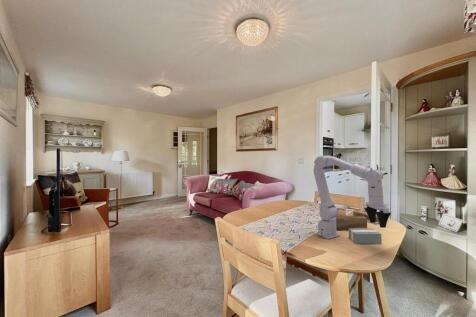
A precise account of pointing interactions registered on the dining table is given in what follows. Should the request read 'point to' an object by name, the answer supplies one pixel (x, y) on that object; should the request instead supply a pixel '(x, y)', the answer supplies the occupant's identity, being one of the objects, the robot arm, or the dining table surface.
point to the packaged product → (361, 213)
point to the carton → (365, 236)
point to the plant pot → (341, 212)
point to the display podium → (350, 222)
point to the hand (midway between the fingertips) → (377, 224)
